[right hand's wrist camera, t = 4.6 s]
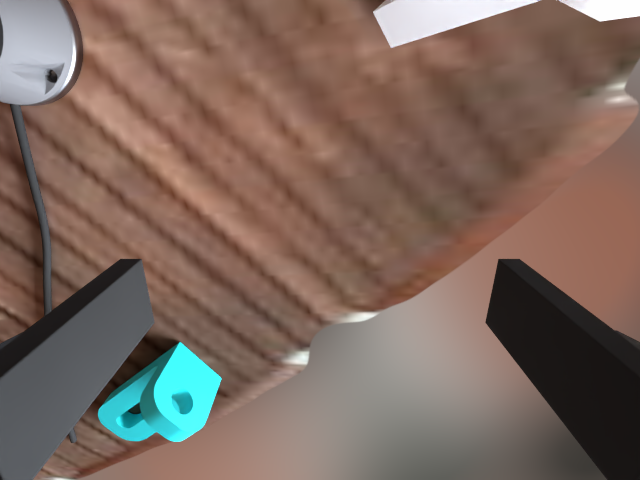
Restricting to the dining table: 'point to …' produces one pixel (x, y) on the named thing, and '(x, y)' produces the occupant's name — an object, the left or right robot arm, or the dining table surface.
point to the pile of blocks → (473, 14)
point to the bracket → (163, 398)
